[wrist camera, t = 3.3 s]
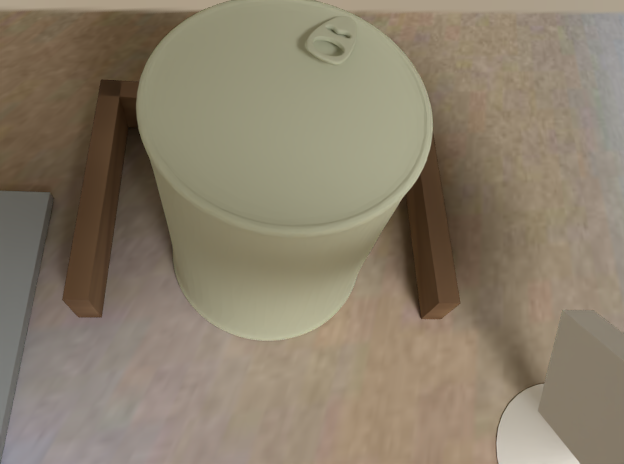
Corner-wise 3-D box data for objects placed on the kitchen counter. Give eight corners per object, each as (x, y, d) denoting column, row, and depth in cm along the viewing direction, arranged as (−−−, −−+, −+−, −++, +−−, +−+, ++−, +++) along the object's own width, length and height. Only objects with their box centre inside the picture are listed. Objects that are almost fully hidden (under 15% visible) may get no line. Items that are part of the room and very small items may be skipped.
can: (386, 222, 28) (481, 58, 17) (307, 378, 24) (366, 290, 13) (235, 144, 29) (236, -58, 18) (134, 282, 25) (59, 127, 14)
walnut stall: (413, 127, 31) (427, 100, 29) (441, 318, 26) (460, 303, 24) (111, 111, 29) (101, 79, 27) (78, 317, 24) (62, 299, 22)
